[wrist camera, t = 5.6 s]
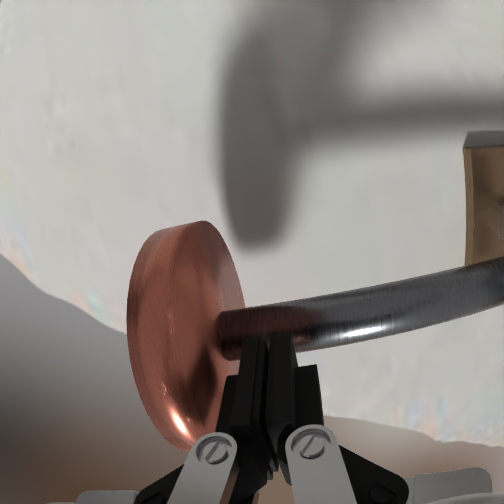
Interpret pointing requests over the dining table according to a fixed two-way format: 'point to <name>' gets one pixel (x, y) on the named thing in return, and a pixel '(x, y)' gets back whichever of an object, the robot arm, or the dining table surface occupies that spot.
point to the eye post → (484, 203)
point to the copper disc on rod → (259, 321)
